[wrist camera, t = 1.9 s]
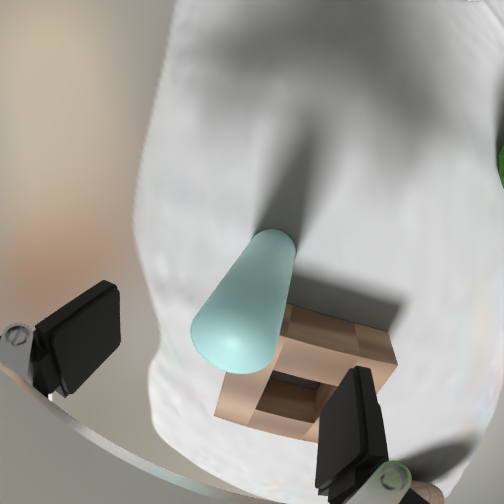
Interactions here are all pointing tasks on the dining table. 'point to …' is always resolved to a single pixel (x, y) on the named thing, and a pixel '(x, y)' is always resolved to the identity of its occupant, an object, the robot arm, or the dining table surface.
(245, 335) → the peg
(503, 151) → the bell pepper
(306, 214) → the dining table surface
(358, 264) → the dining table surface
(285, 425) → the socket
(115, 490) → the robot arm
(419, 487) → the cooking pot
